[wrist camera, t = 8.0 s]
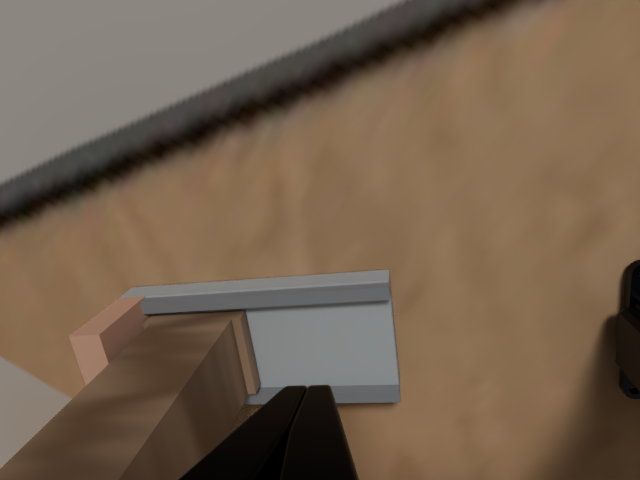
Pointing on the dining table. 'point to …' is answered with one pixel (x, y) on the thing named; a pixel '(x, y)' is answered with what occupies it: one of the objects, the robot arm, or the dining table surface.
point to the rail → (275, 330)
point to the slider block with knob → (150, 405)
